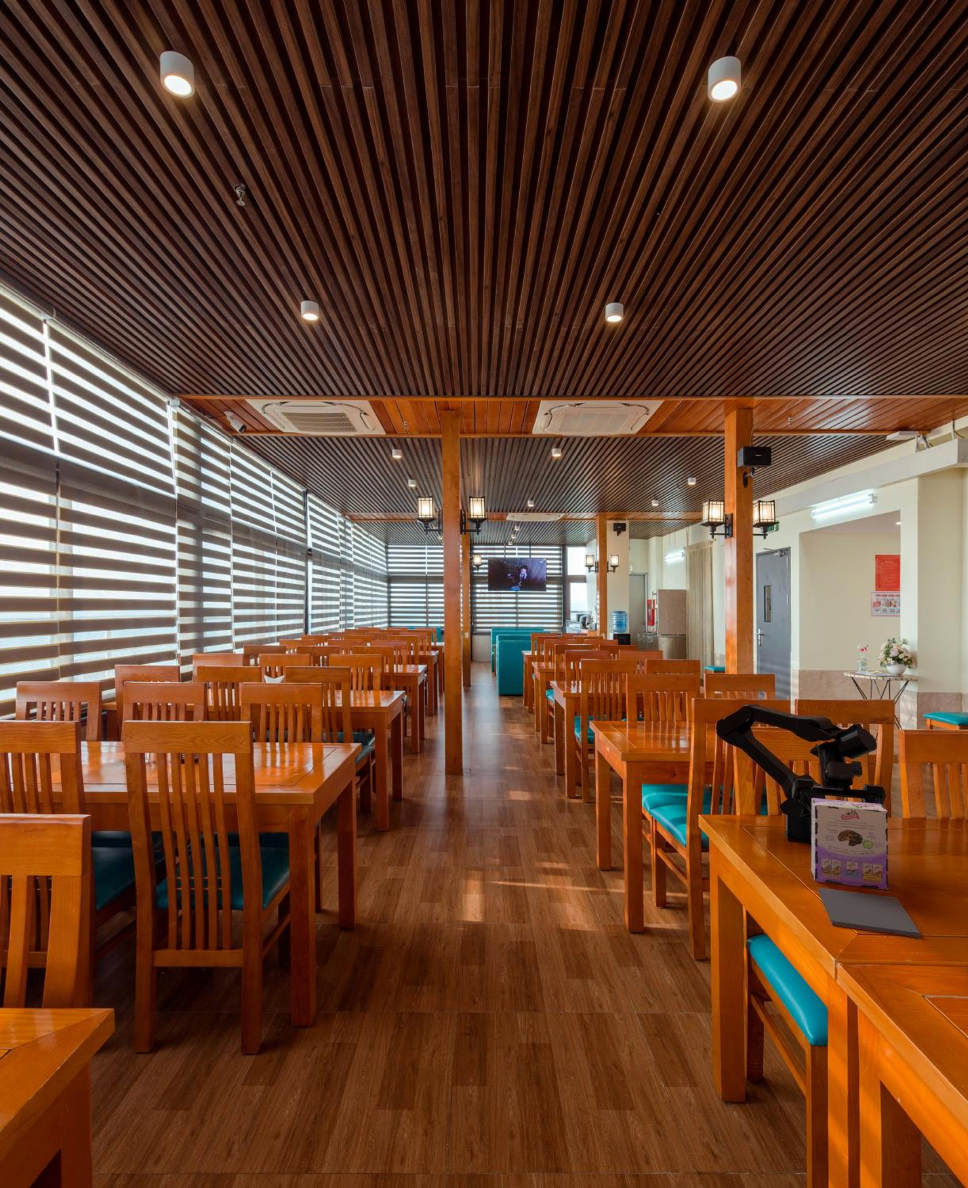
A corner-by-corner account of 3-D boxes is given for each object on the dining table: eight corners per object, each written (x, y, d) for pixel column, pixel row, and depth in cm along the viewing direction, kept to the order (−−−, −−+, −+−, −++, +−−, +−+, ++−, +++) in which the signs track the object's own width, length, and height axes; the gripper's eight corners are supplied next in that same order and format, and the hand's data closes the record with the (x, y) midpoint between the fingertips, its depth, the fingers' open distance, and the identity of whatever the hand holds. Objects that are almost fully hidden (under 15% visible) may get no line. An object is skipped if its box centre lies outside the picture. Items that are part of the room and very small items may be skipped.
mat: (832, 925, 122) (832, 920, 123) (818, 891, 137) (818, 887, 137) (920, 937, 118) (920, 933, 118) (896, 901, 133) (896, 897, 133)
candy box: (882, 880, 143) (882, 802, 143) (888, 891, 137) (889, 811, 137) (810, 871, 147) (810, 796, 147) (814, 881, 142) (814, 803, 142)
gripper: (794, 743, 157) (801, 804, 146) (884, 750, 151) (898, 813, 141) (789, 769, 164) (795, 829, 154) (874, 776, 159) (887, 838, 148)
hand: (843, 827), depth 149 cm, fingers open, 9 cm apart
